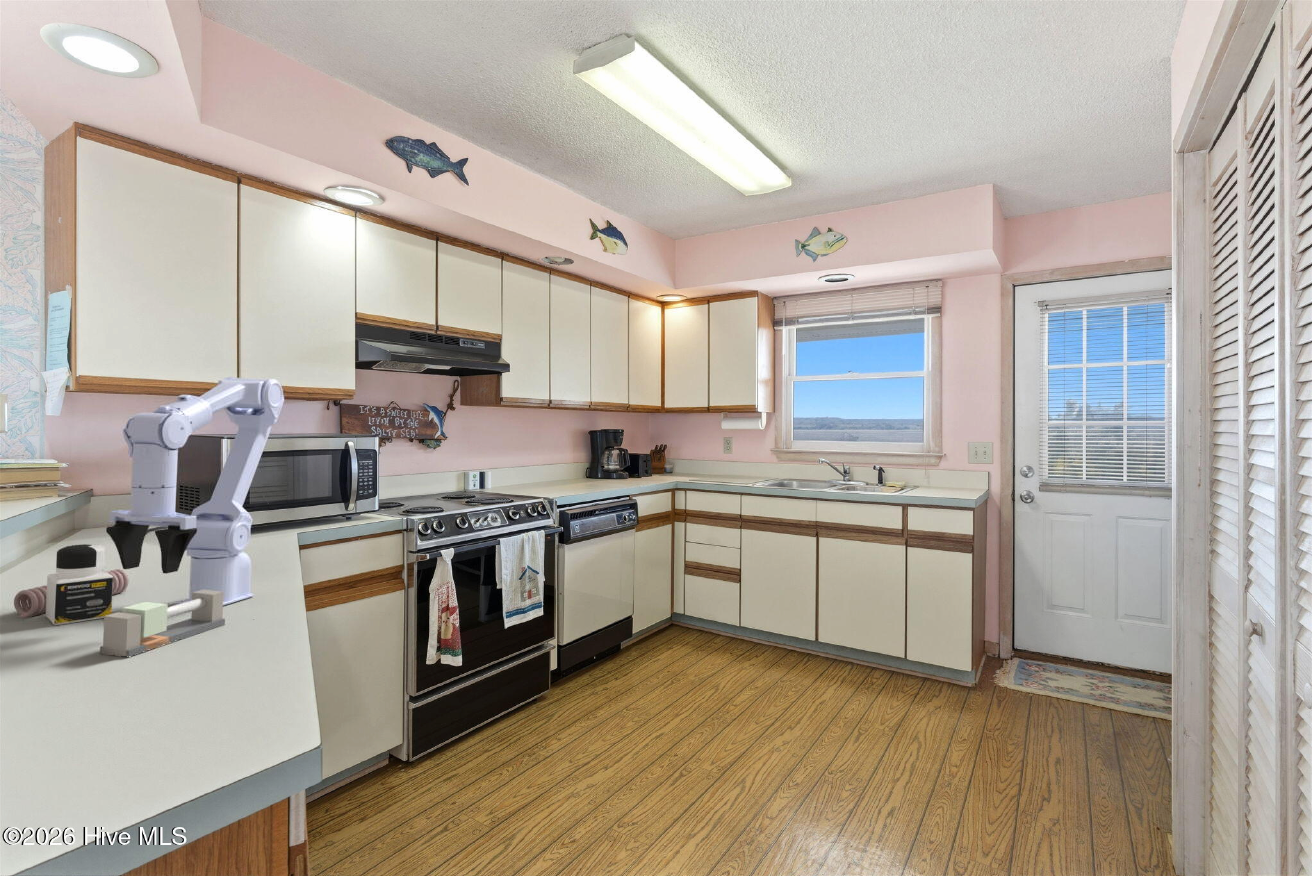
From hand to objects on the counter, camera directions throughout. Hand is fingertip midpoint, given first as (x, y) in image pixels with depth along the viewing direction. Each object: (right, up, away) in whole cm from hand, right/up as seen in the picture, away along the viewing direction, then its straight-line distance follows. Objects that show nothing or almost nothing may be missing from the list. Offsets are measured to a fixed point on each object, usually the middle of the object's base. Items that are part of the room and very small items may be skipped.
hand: (150, 570), depth 101 cm
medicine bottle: (-15, -9, +4) cm, 18 cm away
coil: (-22, -9, +11) cm, 26 cm away
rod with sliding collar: (+6, -10, -4) cm, 12 cm away
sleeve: (+5, -8, -8) cm, 12 cm away
